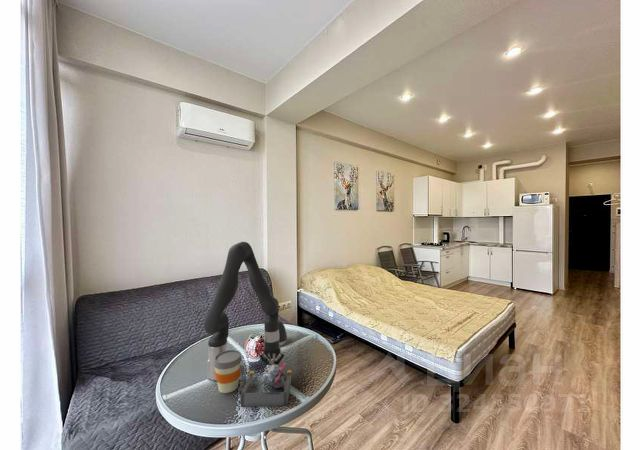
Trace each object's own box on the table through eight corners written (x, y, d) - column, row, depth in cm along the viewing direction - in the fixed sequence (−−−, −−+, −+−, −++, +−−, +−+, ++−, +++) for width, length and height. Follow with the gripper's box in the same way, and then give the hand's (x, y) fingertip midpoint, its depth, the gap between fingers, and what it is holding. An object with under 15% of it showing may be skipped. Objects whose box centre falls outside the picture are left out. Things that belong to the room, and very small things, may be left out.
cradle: (240, 406, 110) (240, 393, 110) (250, 382, 127) (250, 370, 127) (287, 405, 110) (287, 392, 110) (291, 381, 127) (291, 370, 127)
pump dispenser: (281, 339, 173) (280, 316, 173) (290, 344, 165) (289, 321, 165) (268, 344, 166) (267, 321, 166) (276, 350, 158) (276, 325, 158)
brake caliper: (286, 392, 119) (285, 367, 118) (262, 394, 118) (261, 369, 117) (287, 377, 130) (286, 354, 129) (265, 378, 129) (264, 355, 129)
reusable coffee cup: (214, 398, 115) (214, 365, 115) (214, 382, 127) (213, 353, 127) (243, 391, 120) (243, 359, 120) (240, 376, 132) (239, 347, 132)
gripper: (257, 342, 126) (258, 377, 126) (284, 341, 126) (284, 376, 126) (260, 335, 133) (261, 368, 133) (285, 334, 133) (286, 367, 134)
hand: (272, 372), depth 130 cm, fingers closed
